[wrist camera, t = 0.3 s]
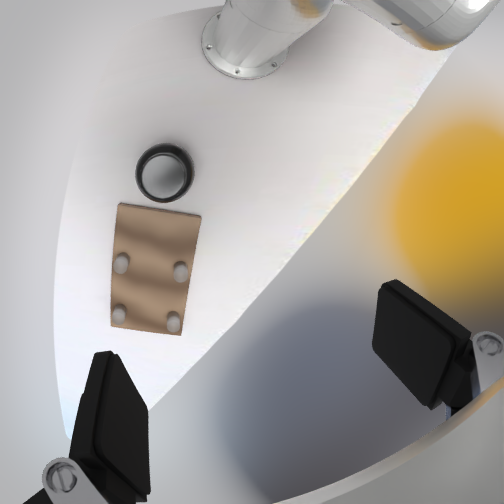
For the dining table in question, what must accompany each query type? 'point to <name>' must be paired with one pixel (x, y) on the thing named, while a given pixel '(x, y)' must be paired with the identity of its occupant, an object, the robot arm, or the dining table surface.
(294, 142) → the dining table surface
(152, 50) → the dining table surface
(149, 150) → the supplement bottle
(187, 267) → the peg board
